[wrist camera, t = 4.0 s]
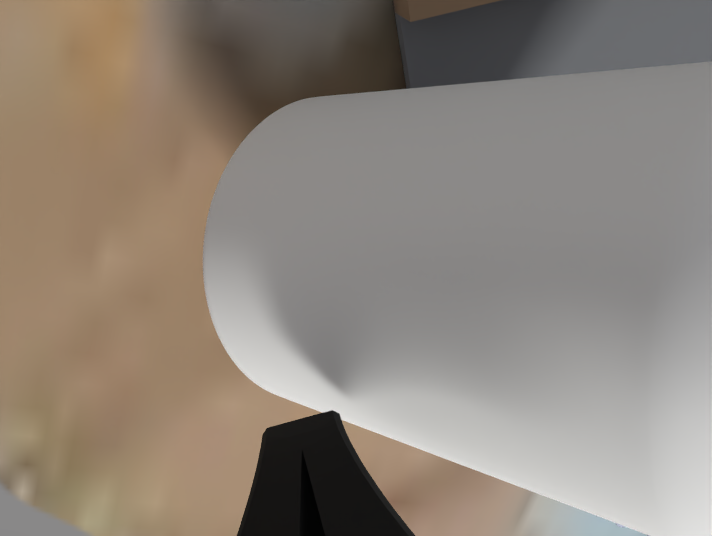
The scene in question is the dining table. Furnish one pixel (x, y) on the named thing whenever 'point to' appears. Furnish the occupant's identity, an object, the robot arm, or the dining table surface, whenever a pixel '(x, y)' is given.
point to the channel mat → (546, 37)
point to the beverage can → (490, 278)
